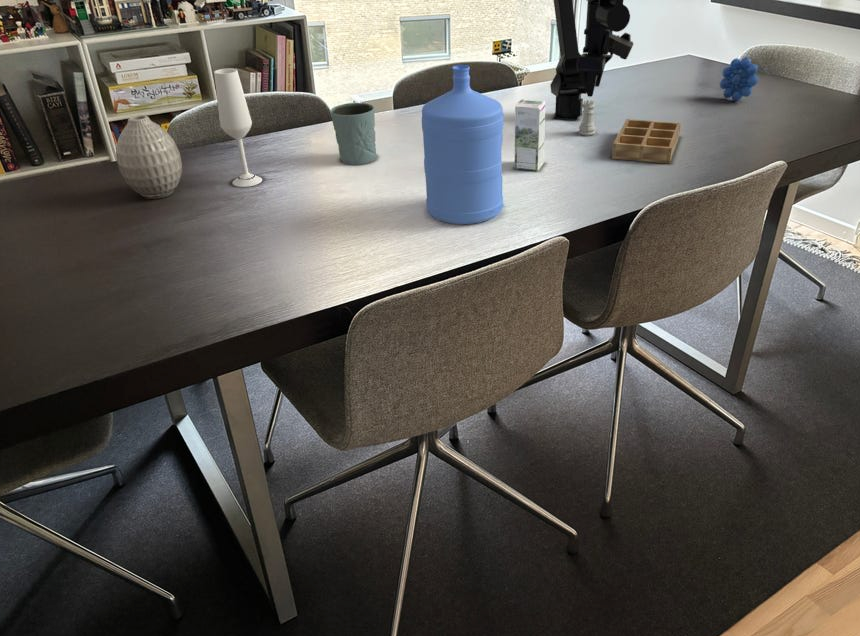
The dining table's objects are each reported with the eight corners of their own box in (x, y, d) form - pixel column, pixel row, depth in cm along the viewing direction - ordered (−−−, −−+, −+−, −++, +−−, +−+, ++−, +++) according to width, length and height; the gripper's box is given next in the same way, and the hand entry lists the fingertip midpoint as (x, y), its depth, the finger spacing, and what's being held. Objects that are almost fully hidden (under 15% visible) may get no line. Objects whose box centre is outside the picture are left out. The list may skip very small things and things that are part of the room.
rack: (611, 158, 176) (612, 143, 174) (625, 133, 192) (626, 118, 190) (669, 163, 172) (671, 148, 170) (678, 137, 188) (680, 122, 186)
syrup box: (544, 163, 175) (546, 99, 167) (537, 172, 170) (539, 107, 162) (520, 161, 176) (521, 98, 168) (513, 169, 172) (514, 105, 164)
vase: (131, 209, 158) (108, 130, 149) (124, 190, 167) (101, 114, 158) (193, 197, 163) (175, 120, 153) (183, 179, 172) (164, 105, 163)
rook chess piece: (596, 136, 190) (599, 104, 186) (579, 136, 190) (581, 104, 186) (594, 130, 194) (596, 99, 189) (577, 130, 194) (579, 99, 189)
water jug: (478, 232, 144) (475, 81, 129) (411, 216, 152) (401, 72, 136) (516, 204, 155) (519, 62, 139) (453, 190, 162) (448, 54, 146)
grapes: (762, 102, 211) (771, 57, 204) (747, 107, 207) (755, 61, 201) (727, 94, 219) (734, 50, 212) (712, 98, 215) (719, 54, 208)
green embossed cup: (387, 158, 180) (383, 107, 174) (355, 169, 174) (349, 117, 168) (360, 149, 186) (354, 100, 180) (327, 160, 180) (321, 109, 174)
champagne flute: (252, 173, 174) (231, 65, 160) (268, 180, 170) (248, 70, 156) (226, 181, 170) (203, 71, 157) (242, 189, 166) (219, 76, 153)
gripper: (626, 33, 168) (620, 104, 177) (638, 17, 183) (631, 83, 191) (577, 31, 171) (573, 100, 180) (592, 15, 186) (588, 81, 194)
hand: (593, 91), depth 186 cm, fingers open, 9 cm apart
